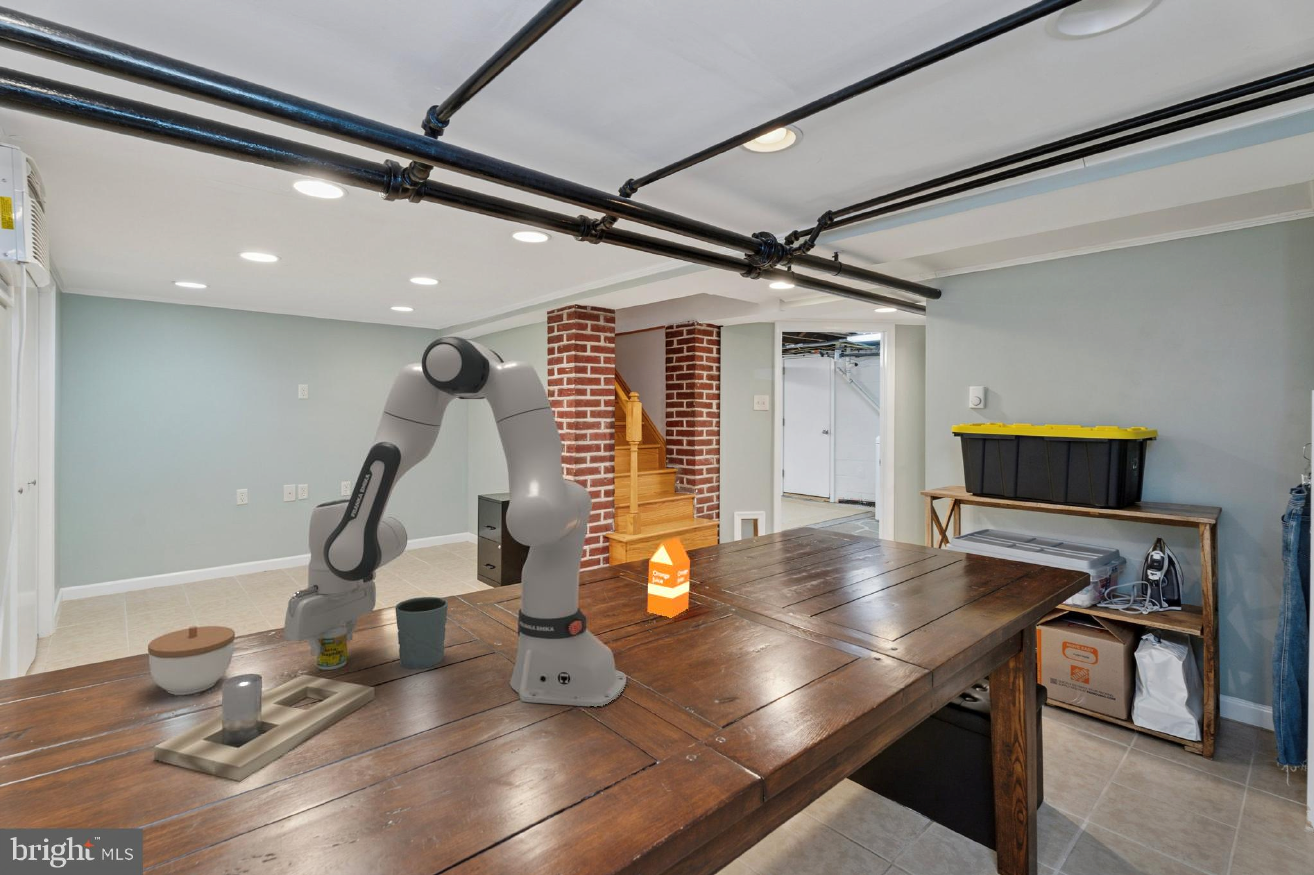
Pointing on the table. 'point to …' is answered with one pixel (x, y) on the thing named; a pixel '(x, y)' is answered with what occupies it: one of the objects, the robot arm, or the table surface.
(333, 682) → the pin board
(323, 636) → the supplement bottle
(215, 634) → the lidded bowl
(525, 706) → the table surface
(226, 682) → the steel pin
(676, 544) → the orange juice
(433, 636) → the blue-grey cup
